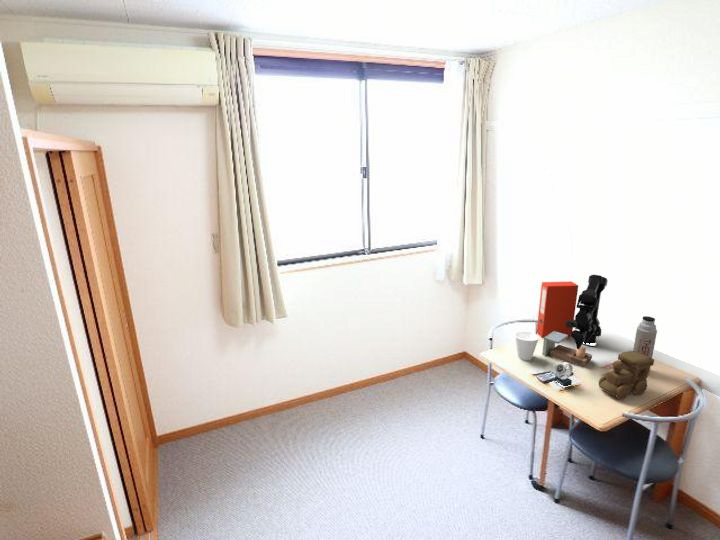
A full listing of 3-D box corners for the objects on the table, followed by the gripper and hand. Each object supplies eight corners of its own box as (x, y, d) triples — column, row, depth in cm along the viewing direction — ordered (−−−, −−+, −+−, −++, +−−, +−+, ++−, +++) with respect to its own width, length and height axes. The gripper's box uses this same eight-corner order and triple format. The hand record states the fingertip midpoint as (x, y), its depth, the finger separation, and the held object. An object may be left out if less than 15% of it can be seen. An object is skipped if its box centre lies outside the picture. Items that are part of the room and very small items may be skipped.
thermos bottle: (647, 376, 198) (657, 322, 191) (628, 371, 204) (637, 318, 196) (650, 370, 204) (660, 317, 196) (631, 365, 209) (640, 313, 202)
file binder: (571, 337, 241) (578, 285, 232) (542, 338, 241) (547, 286, 232) (565, 331, 249) (571, 281, 240) (536, 332, 249) (541, 281, 240)
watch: (551, 383, 195) (553, 362, 192) (564, 379, 197) (567, 359, 194) (560, 389, 190) (563, 367, 187) (574, 385, 192) (576, 364, 189)
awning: (551, 347, 230) (553, 331, 227) (565, 351, 224) (567, 335, 222) (542, 354, 222) (544, 337, 219) (556, 359, 216) (558, 342, 214)
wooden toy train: (627, 380, 195) (632, 348, 191) (650, 393, 185) (656, 360, 180) (594, 389, 189) (599, 356, 185) (616, 402, 179) (622, 368, 174)
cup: (530, 351, 226) (532, 330, 222) (540, 362, 214) (543, 340, 211) (509, 352, 225) (511, 331, 222) (518, 363, 214) (520, 341, 211)
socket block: (558, 350, 226) (558, 344, 225) (591, 360, 214) (592, 354, 213) (550, 356, 220) (550, 350, 219) (583, 367, 208) (584, 361, 207)
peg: (577, 359, 216) (578, 345, 214) (585, 361, 214) (587, 347, 211) (574, 361, 214) (575, 347, 212) (582, 364, 211) (584, 350, 209)
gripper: (575, 308, 219) (572, 335, 223) (560, 318, 207) (557, 346, 211) (598, 314, 211) (594, 342, 215) (584, 324, 199) (580, 354, 203)
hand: (581, 346), depth 211 cm, fingers open, 9 cm apart
